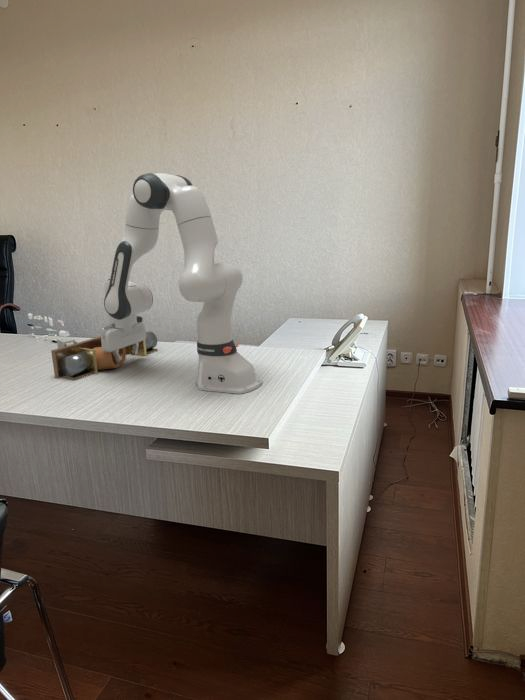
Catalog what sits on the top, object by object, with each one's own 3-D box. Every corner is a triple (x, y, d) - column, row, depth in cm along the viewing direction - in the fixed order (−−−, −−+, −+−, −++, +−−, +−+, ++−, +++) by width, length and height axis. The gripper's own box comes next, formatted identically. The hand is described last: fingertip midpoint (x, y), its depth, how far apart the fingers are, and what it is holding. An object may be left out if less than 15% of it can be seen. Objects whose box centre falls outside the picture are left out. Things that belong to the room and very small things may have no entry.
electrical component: (94, 358, 209) (92, 346, 208) (79, 361, 205) (78, 349, 204) (69, 347, 227) (68, 336, 225) (55, 350, 223) (54, 339, 221)
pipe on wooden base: (161, 350, 217) (159, 327, 215) (75, 382, 181) (71, 353, 178) (142, 348, 222) (140, 324, 220) (55, 377, 186) (51, 350, 184)
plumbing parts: (34, 335, 250) (31, 310, 247) (78, 346, 230) (74, 318, 226) (21, 338, 246) (17, 312, 242) (65, 349, 225) (61, 321, 222)
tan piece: (108, 347, 188) (89, 350, 188) (113, 370, 190) (94, 373, 190) (122, 338, 205) (105, 340, 206) (127, 358, 207) (109, 361, 208)
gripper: (107, 327, 183) (113, 366, 186) (146, 316, 200) (151, 351, 204) (94, 327, 186) (100, 365, 189) (133, 315, 203) (138, 350, 207)
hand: (127, 357), depth 197 cm, fingers open, 7 cm apart
